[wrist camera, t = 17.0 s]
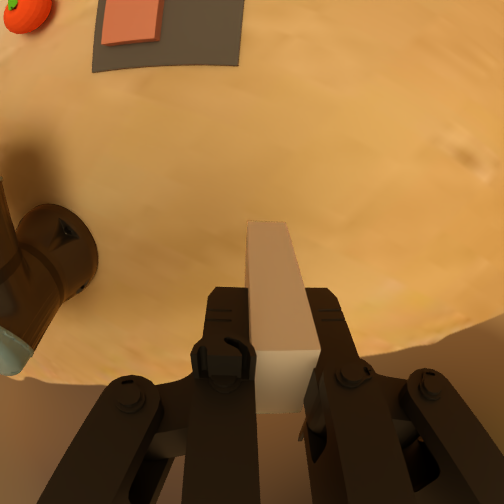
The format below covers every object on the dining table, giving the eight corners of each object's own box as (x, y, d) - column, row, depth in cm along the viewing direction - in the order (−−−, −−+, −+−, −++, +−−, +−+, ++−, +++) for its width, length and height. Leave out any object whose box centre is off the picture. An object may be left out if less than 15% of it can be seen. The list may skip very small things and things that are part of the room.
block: (159, 41, 28) (109, 46, 27) (167, -23, 23) (117, -16, 23) (154, 38, 26) (101, 44, 25) (163, -30, 21) (110, -21, 21)
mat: (93, 72, 29) (91, 72, 29) (105, -29, 22) (103, -30, 21) (238, 65, 30) (237, 65, 30) (248, -41, 23) (248, -43, 22)
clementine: (19, 6, 22) (-11, 1, 15) (55, -22, 21) (27, -33, 14) (28, 44, 25) (-4, 43, 19) (65, 16, 24) (35, 9, 18)
